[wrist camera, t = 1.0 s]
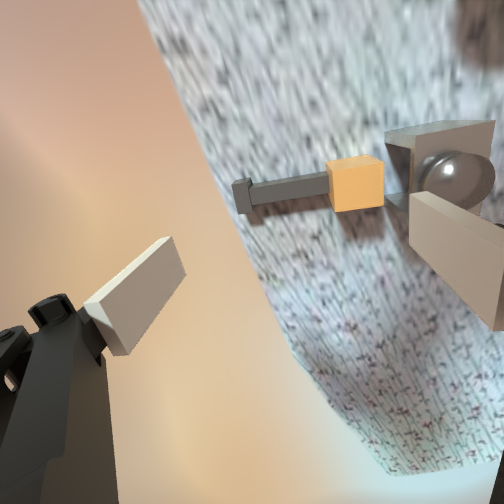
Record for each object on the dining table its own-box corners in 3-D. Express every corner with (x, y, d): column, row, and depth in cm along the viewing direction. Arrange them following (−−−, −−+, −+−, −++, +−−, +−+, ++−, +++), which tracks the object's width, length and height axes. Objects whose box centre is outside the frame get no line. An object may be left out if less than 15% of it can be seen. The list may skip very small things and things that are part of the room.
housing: (384, 131, 31) (425, 136, 21) (441, 120, 30) (513, 120, 20) (383, 204, 35) (418, 236, 25) (434, 197, 33) (492, 228, 24)
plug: (235, 178, 36) (223, 190, 30) (367, 154, 32) (384, 162, 26) (242, 209, 38) (232, 226, 32) (367, 190, 34) (383, 205, 28)
